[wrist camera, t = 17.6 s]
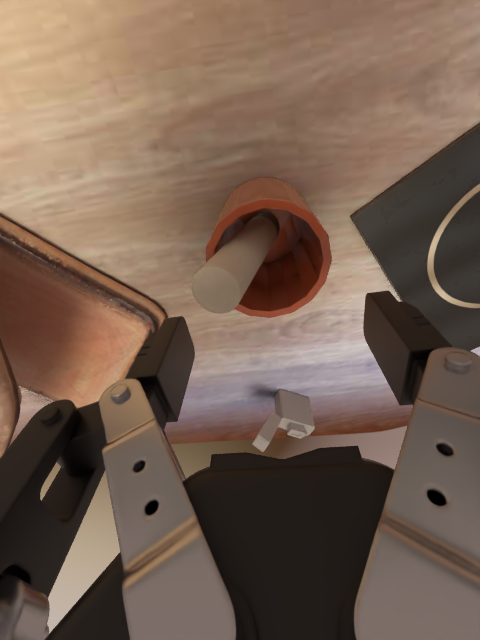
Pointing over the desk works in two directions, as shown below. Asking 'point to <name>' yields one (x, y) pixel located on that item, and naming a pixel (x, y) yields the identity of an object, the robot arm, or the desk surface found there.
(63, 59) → the desk surface
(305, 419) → the lighter
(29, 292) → the case
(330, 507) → the robot arm
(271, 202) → the pen cup
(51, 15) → the desk surface
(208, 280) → the cylinder
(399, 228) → the black flat square pad
